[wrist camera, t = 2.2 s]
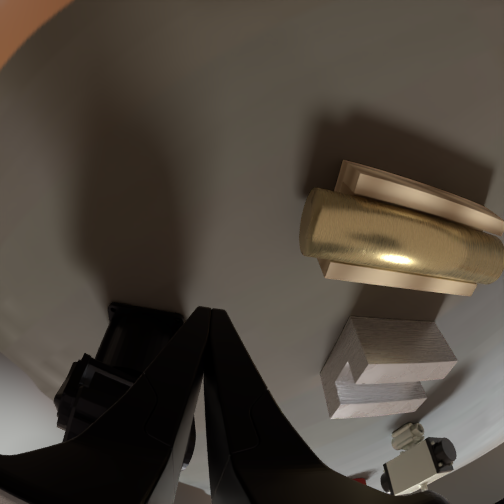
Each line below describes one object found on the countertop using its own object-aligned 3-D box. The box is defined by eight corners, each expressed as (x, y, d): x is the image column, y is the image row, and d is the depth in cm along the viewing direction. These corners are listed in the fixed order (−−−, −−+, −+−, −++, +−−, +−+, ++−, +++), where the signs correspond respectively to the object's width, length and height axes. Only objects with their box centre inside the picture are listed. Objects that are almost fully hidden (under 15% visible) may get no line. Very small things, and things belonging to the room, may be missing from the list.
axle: (295, 236, 21) (306, 269, 17) (311, 178, 19) (328, 201, 15) (465, 267, 22) (490, 294, 19) (484, 226, 21) (512, 250, 17)
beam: (314, 252, 22) (324, 278, 20) (343, 159, 19) (360, 173, 16) (453, 275, 24) (470, 296, 21) (484, 206, 21) (507, 222, 18)
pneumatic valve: (369, 444, 41) (385, 506, 31) (425, 406, 36) (451, 473, 26) (389, 446, 43) (404, 502, 32) (441, 410, 38) (465, 470, 27)
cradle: (319, 373, 30) (330, 418, 25) (349, 316, 26) (368, 364, 21) (399, 373, 31) (414, 411, 26) (434, 321, 27) (457, 360, 22)
